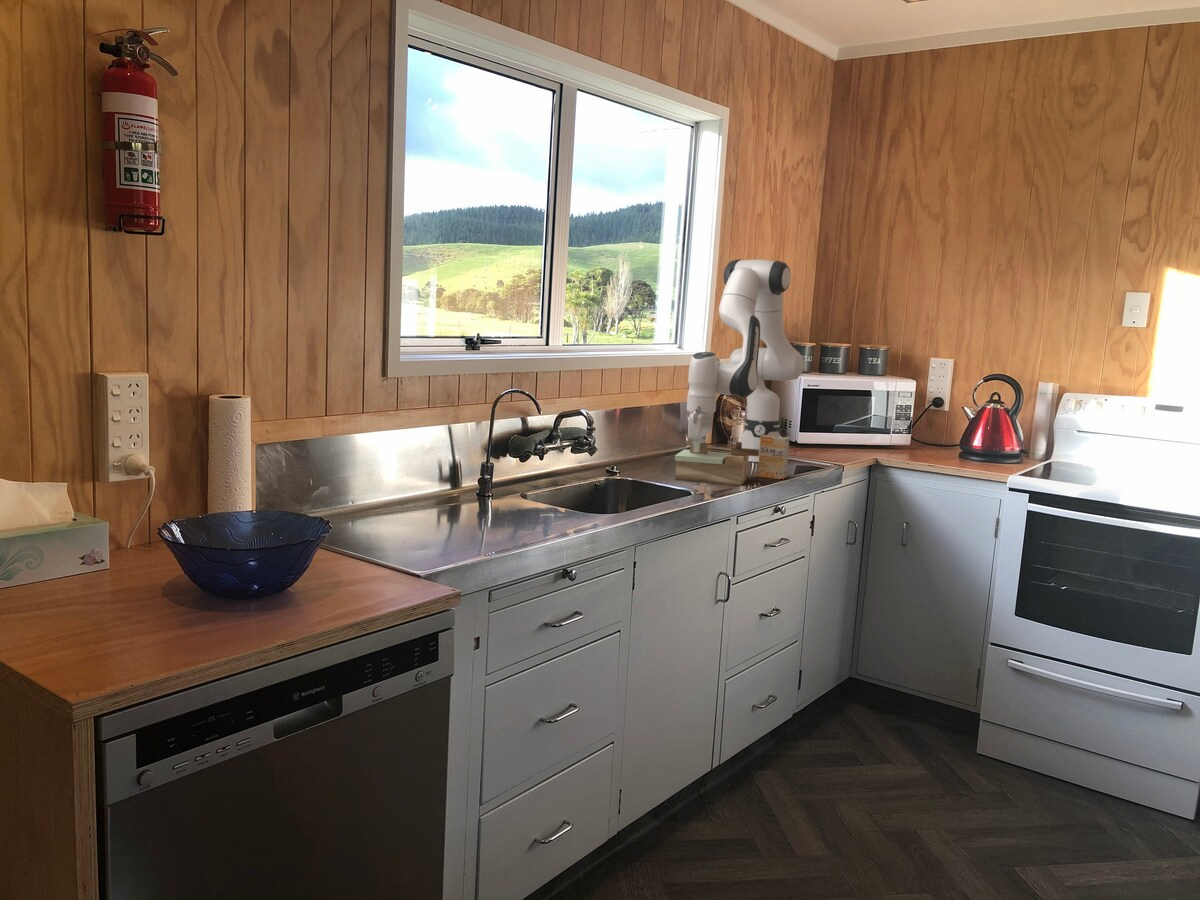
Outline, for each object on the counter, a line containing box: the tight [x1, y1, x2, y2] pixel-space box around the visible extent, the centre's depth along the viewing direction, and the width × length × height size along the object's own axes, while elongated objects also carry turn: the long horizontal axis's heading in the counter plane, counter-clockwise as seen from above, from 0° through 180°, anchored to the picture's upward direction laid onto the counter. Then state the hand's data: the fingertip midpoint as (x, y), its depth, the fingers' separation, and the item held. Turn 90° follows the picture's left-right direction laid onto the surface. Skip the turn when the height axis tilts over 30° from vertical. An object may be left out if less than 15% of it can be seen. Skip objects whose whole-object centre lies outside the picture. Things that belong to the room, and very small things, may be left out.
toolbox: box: [674, 451, 749, 486], centre depth 294 cm, size 14×20×8 cm
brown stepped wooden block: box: [730, 441, 759, 456], centre depth 288 cm, size 2×8×4 cm, turn 74°
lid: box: [674, 441, 730, 464], centre depth 294 cm, size 14×14×5 cm
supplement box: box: [757, 435, 790, 480], centre depth 300 cm, size 8×5×13 cm, turn 62°
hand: (699, 450), depth 296 cm, fingers open, 6 cm apart
